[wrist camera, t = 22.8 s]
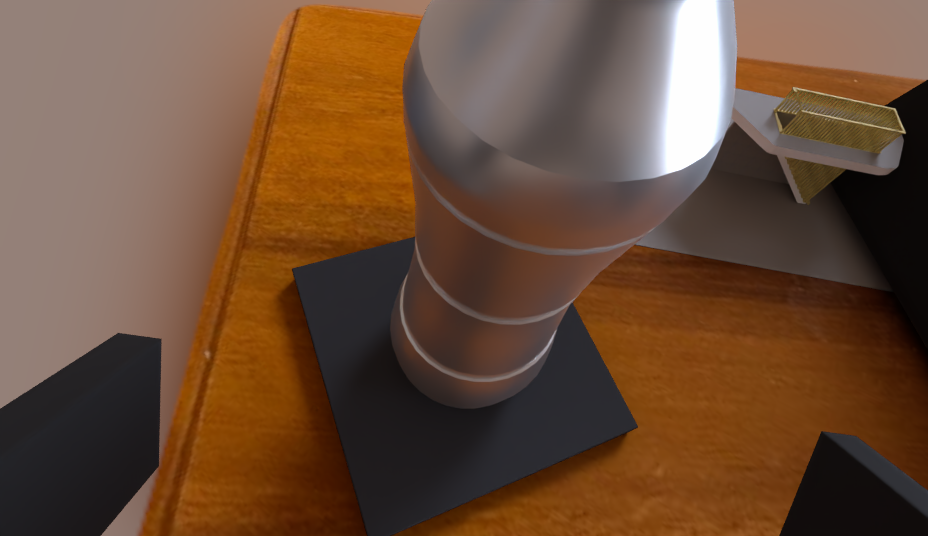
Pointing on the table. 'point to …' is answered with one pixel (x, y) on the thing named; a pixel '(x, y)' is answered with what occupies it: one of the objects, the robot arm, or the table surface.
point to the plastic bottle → (544, 168)
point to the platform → (787, 188)
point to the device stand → (898, 210)
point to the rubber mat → (431, 423)
